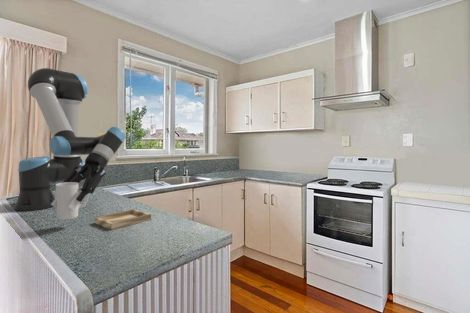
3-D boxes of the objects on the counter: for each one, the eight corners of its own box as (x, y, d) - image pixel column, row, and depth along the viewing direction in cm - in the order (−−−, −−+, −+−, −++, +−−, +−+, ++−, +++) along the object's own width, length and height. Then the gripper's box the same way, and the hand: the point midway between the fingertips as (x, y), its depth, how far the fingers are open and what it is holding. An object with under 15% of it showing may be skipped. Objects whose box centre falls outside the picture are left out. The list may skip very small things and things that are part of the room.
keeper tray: (95, 223, 97) (95, 217, 97) (133, 214, 109) (133, 209, 109) (111, 230, 89) (111, 224, 89) (151, 219, 102) (151, 214, 101)
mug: (57, 221, 88) (57, 186, 87) (55, 216, 93) (54, 183, 92) (91, 216, 94) (90, 183, 93) (86, 211, 99) (86, 180, 98)
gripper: (124, 165, 104) (90, 216, 90) (86, 162, 110) (49, 210, 96) (114, 152, 99) (77, 204, 84) (74, 150, 105) (33, 199, 90)
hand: (62, 207), depth 90 cm, fingers closed on mug, 7 cm apart
